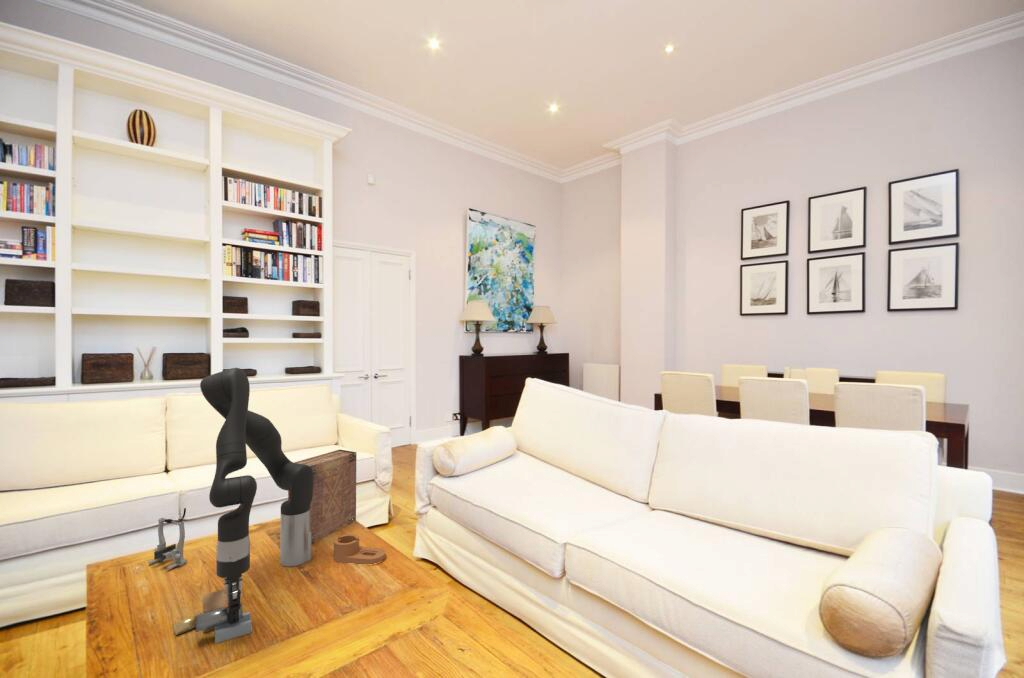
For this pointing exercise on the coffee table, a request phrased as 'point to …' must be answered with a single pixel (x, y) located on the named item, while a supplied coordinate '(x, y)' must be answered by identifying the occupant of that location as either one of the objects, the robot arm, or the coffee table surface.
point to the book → (332, 492)
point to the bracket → (355, 551)
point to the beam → (213, 603)
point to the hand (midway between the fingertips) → (233, 618)
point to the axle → (214, 618)
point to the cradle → (233, 629)
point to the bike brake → (171, 551)
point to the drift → (185, 625)
